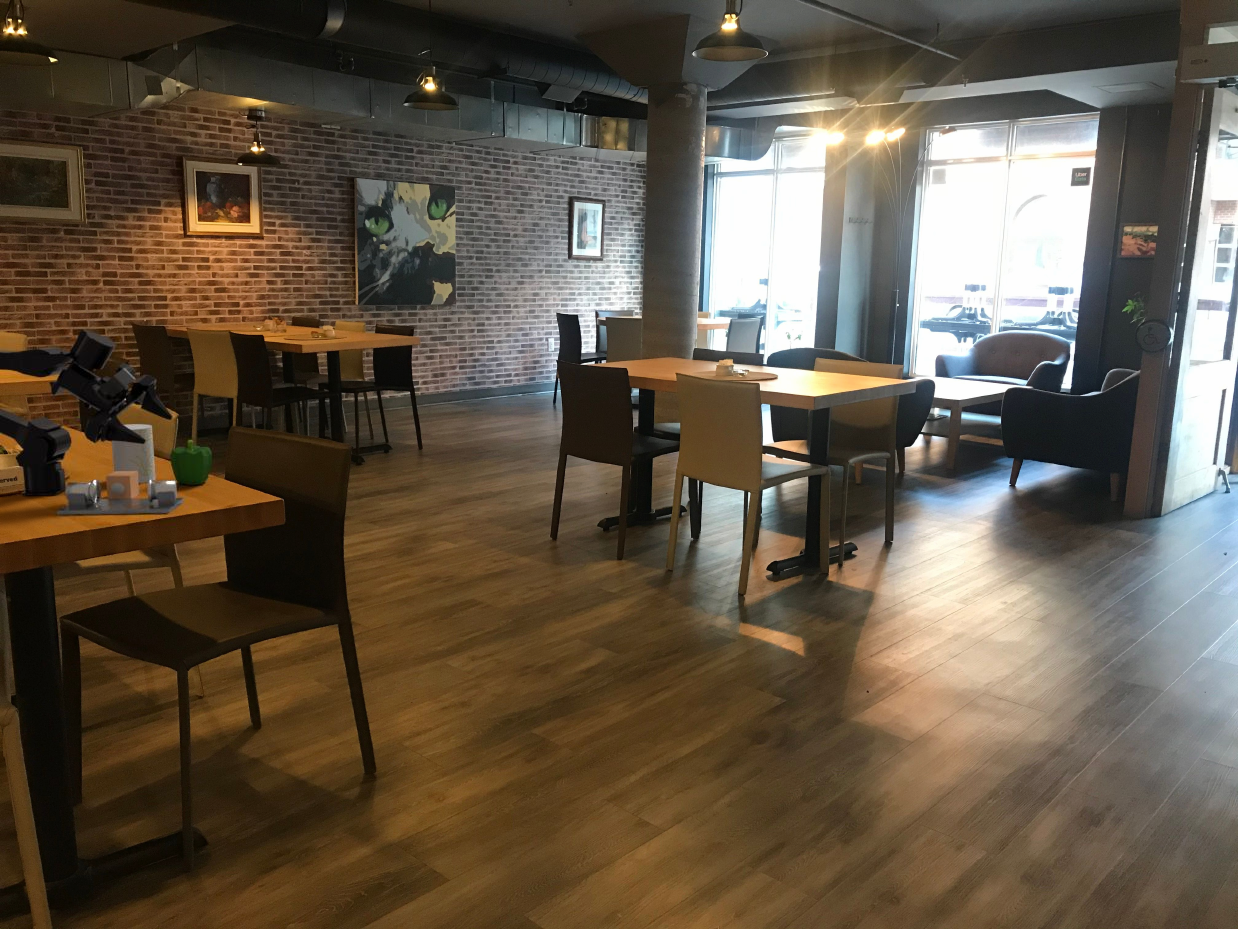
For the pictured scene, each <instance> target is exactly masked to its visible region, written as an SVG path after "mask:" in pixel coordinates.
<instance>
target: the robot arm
mask: <svg viewBox="0 0 1238 929" xmlns="http://www.w3.org/2000/svg"><path fill="white" fill-rule="evenodd" d="M116 346H117V345H116V343H115V341H113V340H111V339H110V338H109V337H107V336H104V335H101V334H100V333H96V332H93V331H90V330H89V329H87V328H86V329H81V330H79V333H78V335H77V339H76V340H75V342H74V344H73V346H72V347H71V349H69V350H62V349H61V348H58V347H55V346H48V347H42V348H35V349H25V350H17V351H15V350H0V371H13V372H16V373H18V374H19V373H20V374H22V375H26V376H31V377H34V378H46V377H52V376H57V375H58V376H57V378H56V380H54V381H53V380H52V381H50V382H49V386H50V391H51V395H53V396H56V395H60V394H64V392H65V391H66V392H67V393H69V394H70V395H71V394H72V395H73V396H75V397H76V398H78V399H79V400H81V401H83V402H84V406H83V407H85V408H87V409H88V410H89V409H91V408H94V409H95V410H98V411H96V412H95V413H94V414H92V415H91V416H90V417H89V418H88V420H87V422H86V426H85V429H84V432H83V434H84V436H85V438H86V439H87V440H89V441H90V442H92V443H94V444H96V443H98V442H99V441H100V442H102V443H104V442H106V441H108V442H112V441H123V442H131V443H138V444H144V443H145V442H146V440H145V439H144V438H143V437H141V436H140V435H139V434H137V433H135V432H134V431H132V430H131V429H129V428H127V427H126V426H124V425H125V424H123V423H122V422H121V421H120V419H119V418H118V416H121V414H122V413H123V412H125V411H126V410H127V409H128V408H130V407H131V406H132V405H133V404H134V405H136V406H138V405H139V406H140V409H141V410H143V411H146V412H148V413H150V414H153V415H156V416H158V417H160V418H162V419H165V420H169V421H172V420H173V415H172V413H171V412H170V411H169V410H168V409H167V408H166V406H165V405H164V404H163V403H162V401H161V400H160V399H159V397H158V395H157V392H156V389H157V385H156V383H157V380H158V379H156V378H155V377H153V376H152V375H149V374H143V375H141V376H140V377H139V378H138V379H137V378H136V377H135V375H136V374H137V371H136V370H135V369H134V368H133V367H132V366H131V365H129V364H127V363H126V362H122V363H121V364H120V365H118V367H116V368H115V369H114V370H115V372H116V374H114V375H113V376H112V377H109V376H108V375H107V376H106V375H104V376H103V377H100V376H98V375H96V374H95V373H92V372H95V371H96V370H103V368H104V367H105V365H106V364H107V361H108V360H109V358H110V357H111V355H112V353H113V352H114V350H115V348H116ZM130 383H132V387H131V389H130V386H129V385H130ZM129 389H130V393H129V394H128V392H129ZM63 425H64V424H62V423H56V422H54V421H52V420H51V419H50V418H47V417H45V416H41V417H39V418H35V419H31V420H28V419H25V418H23V417H21V416H18V415H16V414H14V413H11V412H9V411H7V410H5V409H4V408H1V407H0V434H2V435H5V436H6V437H8V438H11V439H13V440H14V441H15V442H16V443H17V445H19V447H20V448H21V449H22V450H21V451H20V452H19V453H18V454H17V455H16V456H15V460H16V463H17V464H18V466H19V467H20V468H22V472H23V473H22V474H23V483H24V491H23V492H21V495H22V496H55V495H58V494H60V493H61V492H63V491H66V486H67V483H66V475H65V474H66V472H65V468H62V467H63V466H62V461H64V460H65V456H66V452H68V451H69V450H70V448H71V446H72V437H71V435H70V432H69V431H68V430H67V429H65V428H64V427H63Z"/></svg>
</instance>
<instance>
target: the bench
mask: <svg viewBox="0 0 1238 929" xmlns="http://www.w3.org/2000/svg"><path fill="white" fill-rule="evenodd" d="M65 498H66V500H67V501H68V502H67V504H66V505H65V506H63V507H61V508H60V509H58V510H56V511H57V515H58V516H61V515H62V516H64V515H66V516H67V515H69V516H74V515H76V514H77V515H78V514H83V515H136V514H137V515H138V514H139V513H155V514H171V512H173V511H174V510H176V508H178V507H179V506H180V505H182V503H183V504H184V500H185V499H184V497H177V498H176V503H175V505H161V506H158V500H153V502H149V500H148V497H145V498H143V497H142V498H141V497H140V498H139V497H138V498H136V497H135V498H119V499H108V498H102V486H101V482H100V480H99V479H92V480H91V481H86V482H85V481H84V482H83V481H79V482H75V481H73V482H67V483H66V489H65ZM77 515H76V516H77ZM139 515H140V514H139Z"/></svg>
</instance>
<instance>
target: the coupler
mask: <svg viewBox="0 0 1238 929" xmlns="http://www.w3.org/2000/svg"><path fill="white" fill-rule="evenodd" d="M105 481H106V494H107V496H106V497H107V499H119V498H136V497H138V496H139V495H140V486H139V482H138V471H114V470H113V472H111V473H109V474H107V475H106V476H105ZM137 495H138V496H137Z"/></svg>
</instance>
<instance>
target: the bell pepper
mask: <svg viewBox="0 0 1238 929" xmlns="http://www.w3.org/2000/svg"><path fill="white" fill-rule="evenodd" d="M193 444H194V441H193V439H188V440H187V447H184V446H177V447H176V448H174V449H172V450H171V452H170V458H169V459H170V466H171V470H172V472H173V475H174V478H175V480H176V483H178V484H180V485H188V486H196V485H202V484H204V483H205V482H207V480H208V478H209V477H210V473H211V468H212V463H213V462H212V451H211V449H210V447H208V446H199V445H193ZM208 475H209V476H208Z"/></svg>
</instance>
